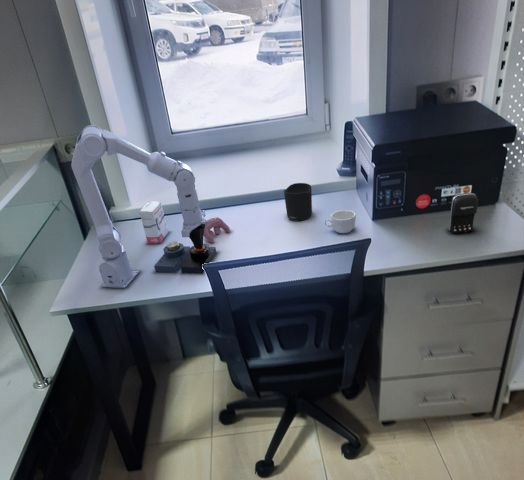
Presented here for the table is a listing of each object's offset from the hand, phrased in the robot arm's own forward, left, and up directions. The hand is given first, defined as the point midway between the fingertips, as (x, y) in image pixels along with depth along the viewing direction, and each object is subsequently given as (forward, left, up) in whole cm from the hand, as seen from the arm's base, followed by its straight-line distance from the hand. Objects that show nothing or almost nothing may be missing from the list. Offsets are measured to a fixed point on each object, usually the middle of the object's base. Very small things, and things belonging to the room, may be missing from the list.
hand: (199, 247), depth 157 cm
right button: (0, 0, -2) cm, 2 cm away
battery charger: (+21, -78, -4) cm, 81 cm away
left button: (0, +9, -1) cm, 9 cm away
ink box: (+14, +22, -4) cm, 26 cm away
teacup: (+21, -41, -4) cm, 46 cm away
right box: (-2, 0, -4) cm, 5 cm away
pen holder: (+32, -25, -4) cm, 41 cm away
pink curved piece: (+16, +1, -4) cm, 17 cm away
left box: (-2, +9, -4) cm, 10 cm away
